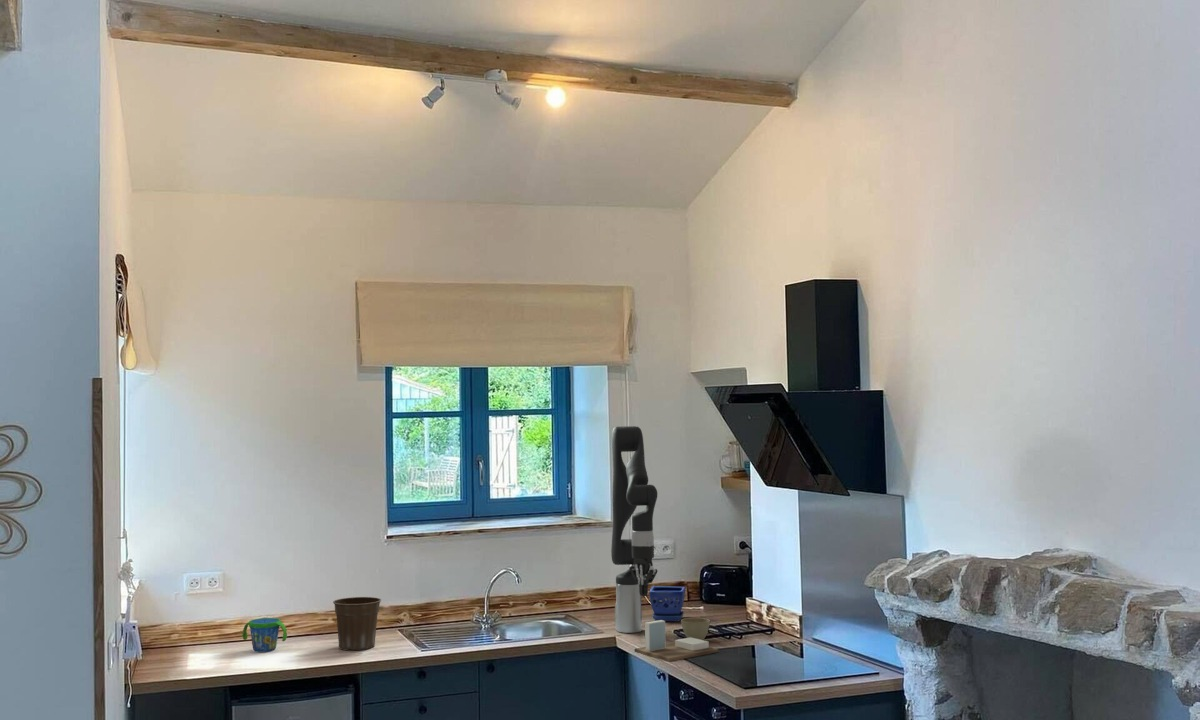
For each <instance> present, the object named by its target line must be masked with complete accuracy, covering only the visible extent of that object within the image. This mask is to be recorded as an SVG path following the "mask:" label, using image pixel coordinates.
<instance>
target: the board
mask: <svg viewBox="0 0 1200 720" xmlns="http://www.w3.org/2000/svg"><path fill="white" fill-rule="evenodd" d="M718 652H719V648H716V647H711V646H709V648H706V649H700V650H695V651H692V650H688V649H684V648H680V647H676V646H675V641H670V642H666V648H664V649H659V650H653V651H647V650H645V646H643V647H639V648H638V647H637V648H634V653H637V654H640V655H645V656H649V657H652V658H654V659H655V658H656V659H659V660H663V661H666V662H673V661H677V660H683V659H690V658H694V657H699V656H704V655H709V654H713V653H714V654H715V653H718Z"/></svg>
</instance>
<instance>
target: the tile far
mask: <svg viewBox="0 0 1200 720" xmlns="http://www.w3.org/2000/svg"><path fill="white" fill-rule="evenodd" d="M674 642H675V646H676V647H680V648H684V649H688V650H692V651H695V650H700V649H706V648H709V647H710V645H709V644H710V643H709V641H708V640H705V639H704V640H700V639H696V638H692V637H690V638H686V637H684V638H680V639H679V638H678V639H675V640H674Z"/></svg>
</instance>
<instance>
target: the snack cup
mask: <svg viewBox="0 0 1200 720" xmlns="http://www.w3.org/2000/svg"><path fill="white" fill-rule="evenodd" d="M248 627H249V630H250V637H251V644H252V645H251V646H252V650H253V651H254V652H257V653H266V652H273V651H275V649H276V648H277V644H278V639H279V638H278V637H279V631H280V628H281V631H282V632H283V633H282V639H281V642H285V641H286V640H287V637H288V633H287V628H286V625H285V623H283V622H282V620H281V619H280V618H277V617H264V618H263V617H262V618H255V619H251V620H249V621H248V622H246V623H245V624H244V627H243V630H242V639H243V640H244V641H246V640H247V639H248Z"/></svg>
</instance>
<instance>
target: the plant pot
mask: <svg viewBox="0 0 1200 720" xmlns="http://www.w3.org/2000/svg"><path fill="white" fill-rule="evenodd" d="M381 602H382V599H381V598H379V597H374V596H373V597H372V596H355V597H354V596H353V597H343V598H339V599H335V600H333V602H332V603H333V604H334V612H335V614H336V626H337V639H338V648H339V649H340V650H345V651H348V650H352V651H364V650H368V649H372V648H373V647H375V645H376V643H375V642H376V635H377V634H376V633H377V624H378V623H377V622H378V615H379V614H378V613H379V611H380V604H381Z"/></svg>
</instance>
